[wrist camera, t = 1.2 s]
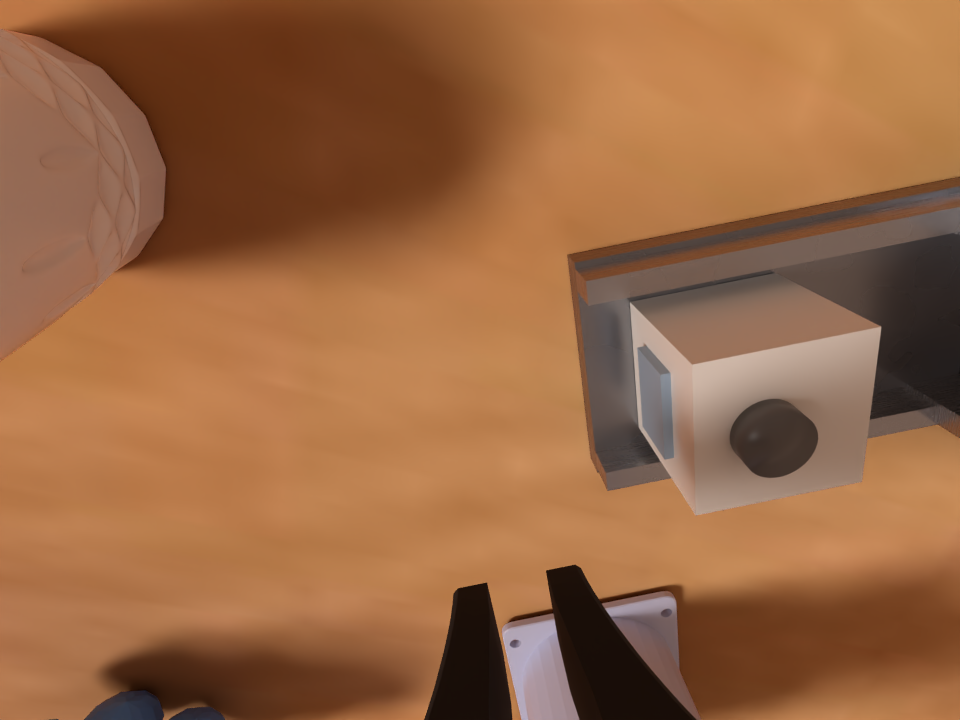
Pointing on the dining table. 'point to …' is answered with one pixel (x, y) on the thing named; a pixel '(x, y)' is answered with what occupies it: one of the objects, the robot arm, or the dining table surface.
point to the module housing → (809, 263)
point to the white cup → (67, 183)
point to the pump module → (753, 390)
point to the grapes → (145, 709)
